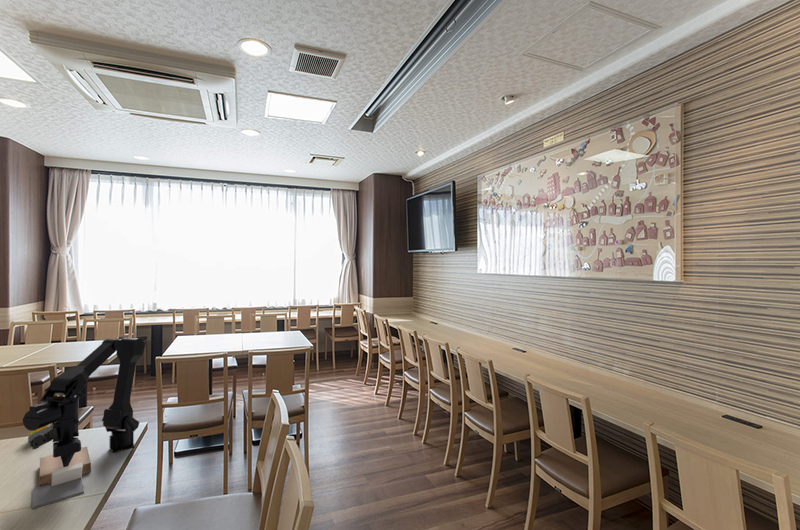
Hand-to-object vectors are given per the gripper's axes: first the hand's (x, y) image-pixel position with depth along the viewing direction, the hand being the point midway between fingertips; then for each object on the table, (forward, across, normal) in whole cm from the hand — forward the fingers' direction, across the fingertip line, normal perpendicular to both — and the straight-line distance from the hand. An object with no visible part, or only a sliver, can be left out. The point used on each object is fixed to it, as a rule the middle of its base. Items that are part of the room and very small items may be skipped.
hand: (65, 466), depth 119 cm
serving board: (+4, -7, 0) cm, 9 cm away
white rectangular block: (+1, +3, 0) cm, 3 cm away
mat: (+4, +7, -2) cm, 8 cm away
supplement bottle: (+4, -40, -6) cm, 41 cm away
